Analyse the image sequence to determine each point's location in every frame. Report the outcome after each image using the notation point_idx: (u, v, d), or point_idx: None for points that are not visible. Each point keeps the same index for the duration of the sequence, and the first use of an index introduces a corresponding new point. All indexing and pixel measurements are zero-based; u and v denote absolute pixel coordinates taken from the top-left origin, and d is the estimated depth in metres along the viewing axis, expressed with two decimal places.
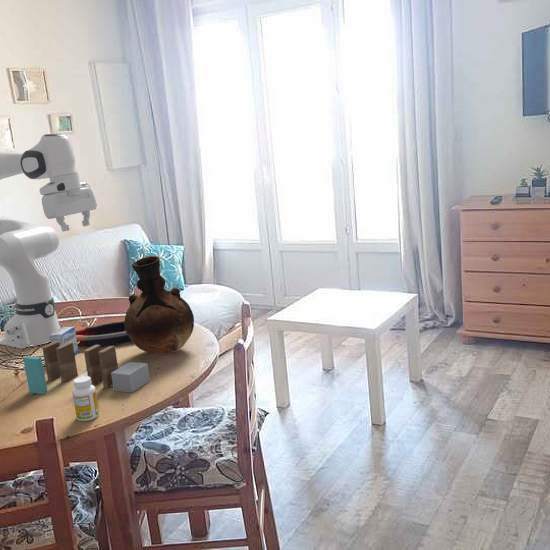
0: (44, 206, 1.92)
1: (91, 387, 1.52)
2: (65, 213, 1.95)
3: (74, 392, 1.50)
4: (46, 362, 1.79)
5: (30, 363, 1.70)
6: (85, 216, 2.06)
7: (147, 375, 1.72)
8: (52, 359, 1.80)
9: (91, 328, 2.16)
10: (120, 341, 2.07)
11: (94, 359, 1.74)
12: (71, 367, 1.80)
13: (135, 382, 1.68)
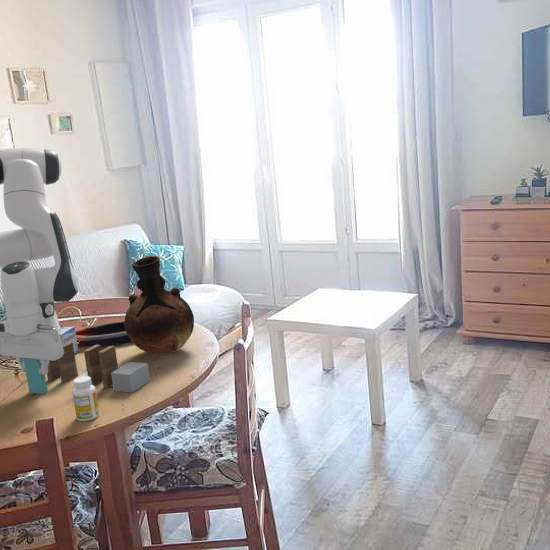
0: None
1: (91, 387, 1.52)
2: (12, 354, 1.70)
3: (74, 392, 1.50)
4: None
5: (30, 363, 1.70)
6: None
7: (147, 375, 1.72)
8: None
9: (91, 328, 2.15)
10: (120, 341, 2.07)
11: (94, 359, 1.74)
12: (71, 367, 1.80)
13: (135, 382, 1.68)
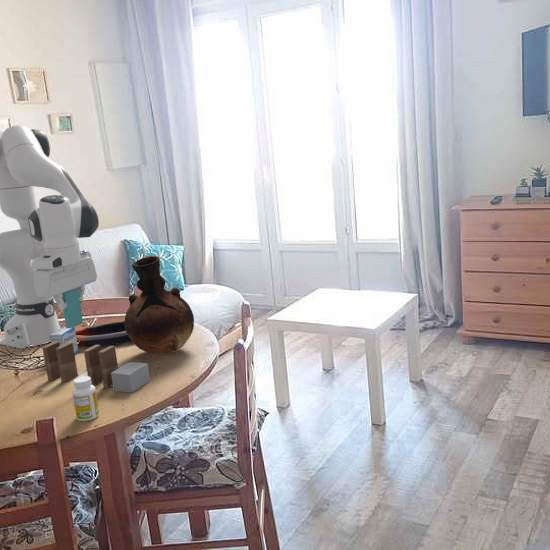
0: (36, 284, 1.63)
1: (91, 387, 1.52)
2: (60, 291, 1.67)
3: (74, 392, 1.50)
4: (46, 362, 1.79)
5: (71, 295, 1.72)
6: (79, 291, 1.76)
7: (147, 375, 1.72)
8: (52, 359, 1.80)
9: (91, 328, 2.15)
10: (120, 341, 2.07)
11: (94, 359, 1.74)
12: (71, 367, 1.80)
13: (135, 382, 1.68)
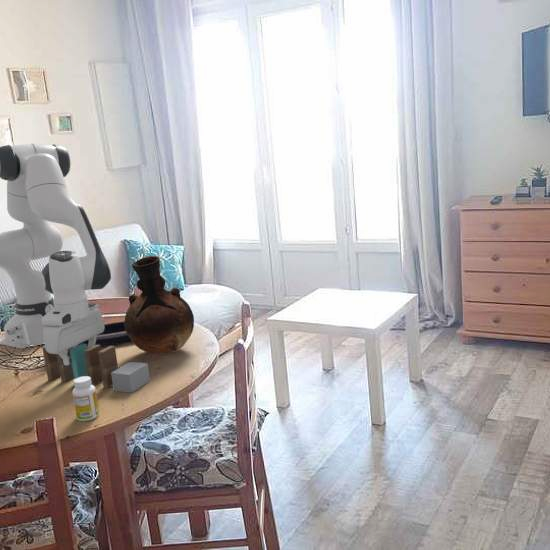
0: (45, 340, 1.67)
1: (91, 387, 1.52)
2: (69, 346, 1.70)
3: (74, 392, 1.50)
4: (46, 362, 1.79)
5: (80, 351, 1.76)
6: (90, 341, 1.81)
7: (147, 375, 1.72)
8: (52, 359, 1.80)
9: None
10: (120, 341, 2.07)
11: (94, 359, 1.74)
12: (71, 367, 1.80)
13: (135, 382, 1.68)
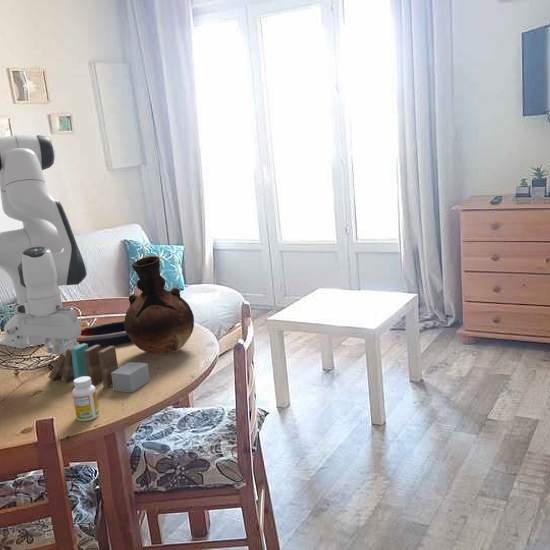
0: None
1: (91, 387, 1.52)
2: (32, 335, 1.80)
3: (74, 392, 1.50)
4: (57, 365, 1.78)
5: (81, 351, 1.76)
6: None
7: (147, 375, 1.72)
8: None
9: (90, 328, 2.15)
10: (120, 341, 2.07)
11: (94, 359, 1.74)
12: None
13: (135, 382, 1.68)
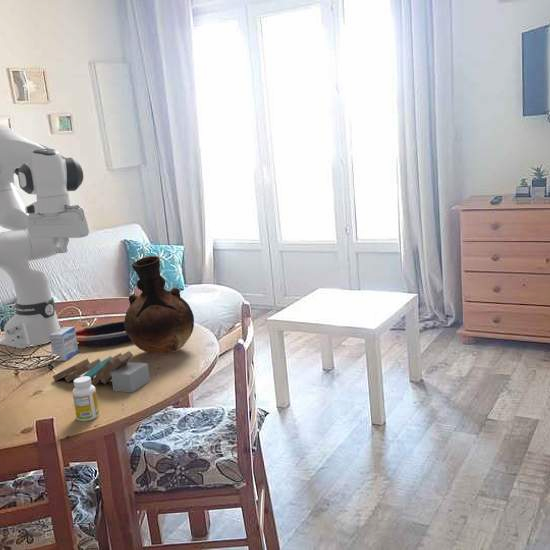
0: None
1: (91, 387, 1.52)
2: (41, 236, 1.86)
3: (74, 392, 1.50)
4: (65, 372, 1.77)
5: None
6: None
7: (147, 375, 1.72)
8: None
9: (90, 328, 2.15)
10: (120, 341, 2.07)
11: None
12: None
13: (135, 382, 1.68)
